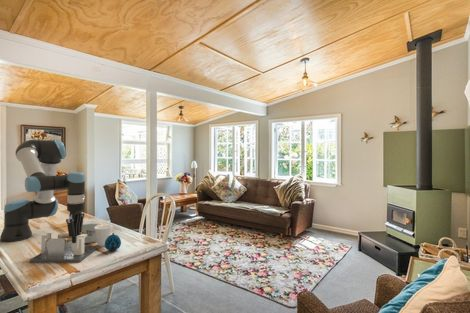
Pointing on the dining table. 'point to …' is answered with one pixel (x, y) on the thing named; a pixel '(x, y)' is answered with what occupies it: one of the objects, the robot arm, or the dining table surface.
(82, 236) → the block
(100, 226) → the cup
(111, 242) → the ornament
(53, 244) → the base
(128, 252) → the dining table surface
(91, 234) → the ink box
